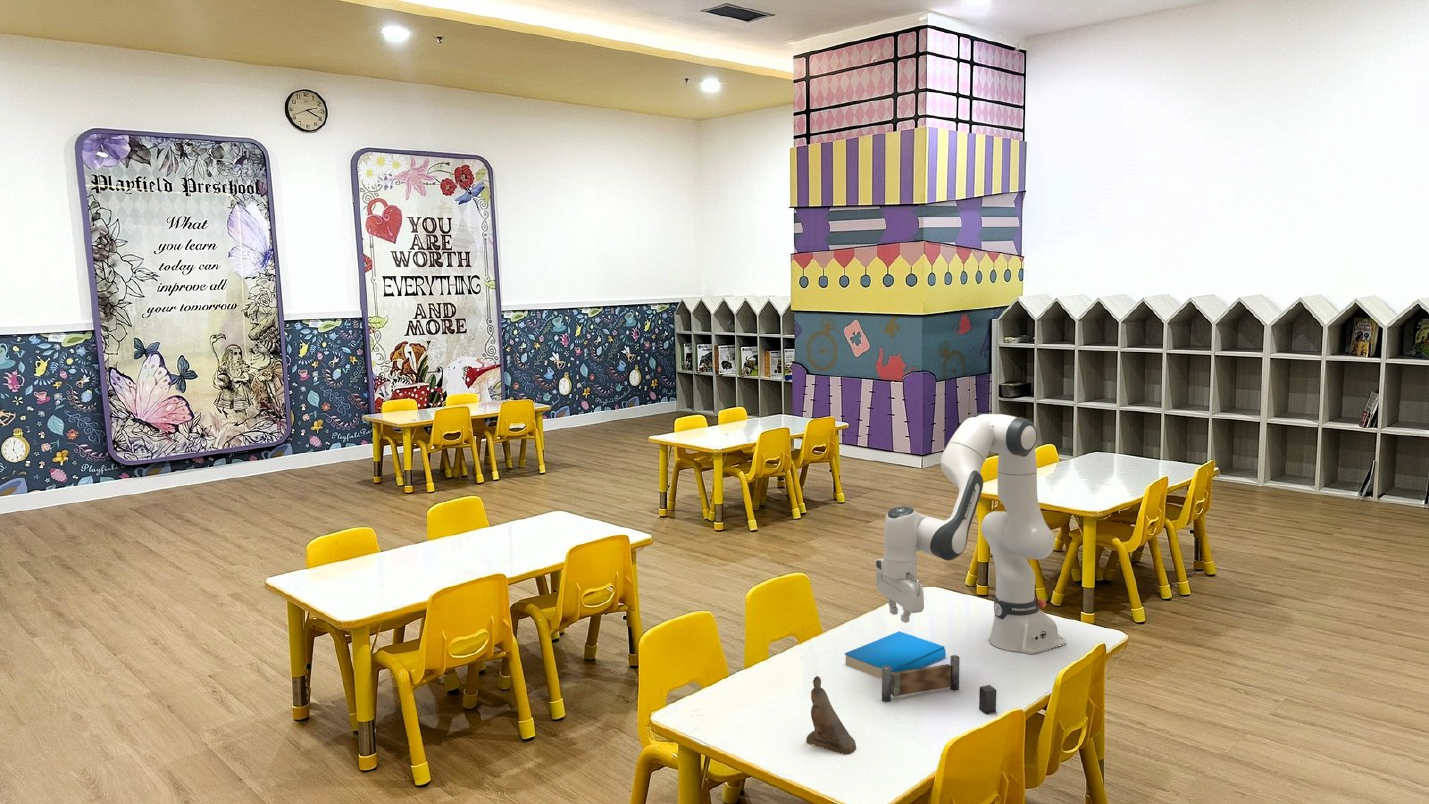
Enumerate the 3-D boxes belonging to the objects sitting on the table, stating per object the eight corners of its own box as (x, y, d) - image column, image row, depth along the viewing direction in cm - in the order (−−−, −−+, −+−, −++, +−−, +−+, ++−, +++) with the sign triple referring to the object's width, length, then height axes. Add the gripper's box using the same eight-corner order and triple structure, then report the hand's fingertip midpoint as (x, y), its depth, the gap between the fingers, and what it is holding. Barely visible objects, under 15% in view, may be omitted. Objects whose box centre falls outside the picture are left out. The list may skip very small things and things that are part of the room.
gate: (947, 684, 260) (947, 663, 259) (950, 687, 258) (951, 666, 257) (890, 694, 255) (891, 672, 254) (894, 697, 253) (894, 675, 252)
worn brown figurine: (806, 752, 232) (791, 679, 232) (818, 743, 236) (804, 671, 236) (848, 757, 225) (833, 681, 224) (860, 747, 229) (845, 673, 228)
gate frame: (960, 685, 262) (960, 654, 260) (995, 712, 246) (996, 678, 245) (880, 699, 254) (880, 666, 253) (911, 727, 239) (912, 692, 237)
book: (844, 653, 276) (898, 629, 292) (844, 667, 277) (898, 643, 293) (892, 671, 263) (946, 645, 280) (892, 686, 264) (946, 659, 280)
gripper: (930, 578, 249) (929, 629, 251) (892, 556, 268) (891, 604, 270) (908, 581, 247) (908, 632, 249) (871, 558, 266) (871, 606, 268)
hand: (899, 617), depth 260 cm, fingers open, 5 cm apart
